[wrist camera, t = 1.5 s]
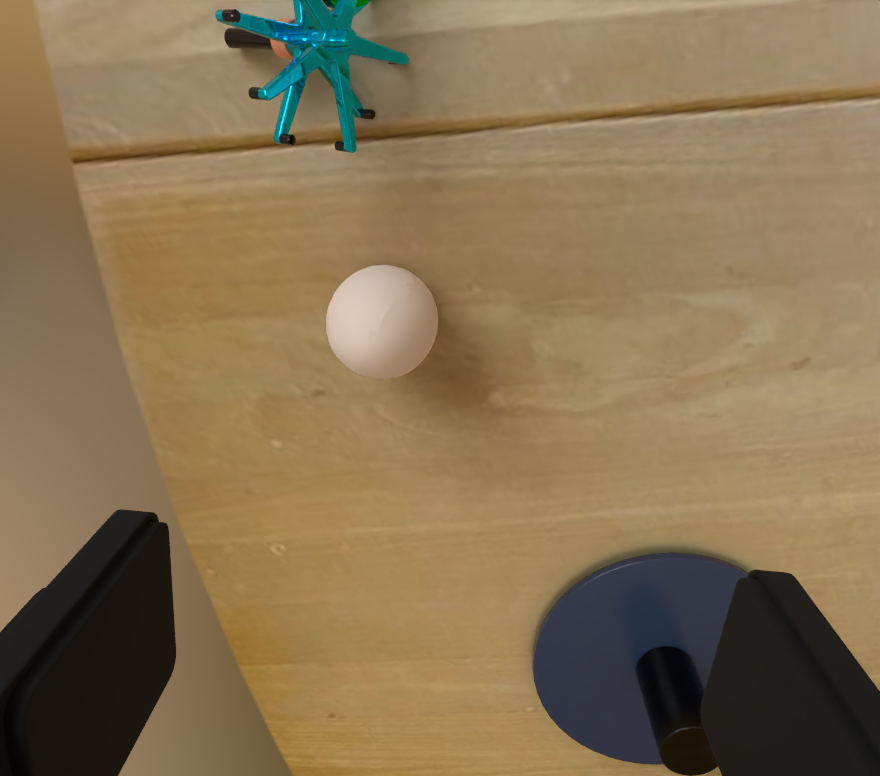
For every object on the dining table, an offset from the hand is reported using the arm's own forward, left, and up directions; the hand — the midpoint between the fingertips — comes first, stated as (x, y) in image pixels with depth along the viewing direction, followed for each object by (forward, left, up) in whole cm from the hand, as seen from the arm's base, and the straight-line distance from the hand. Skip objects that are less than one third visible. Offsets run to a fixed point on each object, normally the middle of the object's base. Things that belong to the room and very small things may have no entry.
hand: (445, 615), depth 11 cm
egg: (+4, 0, -23) cm, 23 cm away
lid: (-10, +21, -22) cm, 32 cm away
